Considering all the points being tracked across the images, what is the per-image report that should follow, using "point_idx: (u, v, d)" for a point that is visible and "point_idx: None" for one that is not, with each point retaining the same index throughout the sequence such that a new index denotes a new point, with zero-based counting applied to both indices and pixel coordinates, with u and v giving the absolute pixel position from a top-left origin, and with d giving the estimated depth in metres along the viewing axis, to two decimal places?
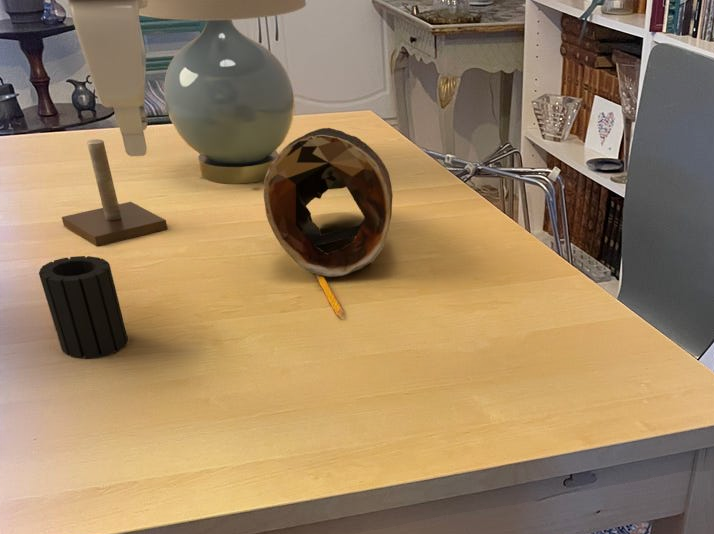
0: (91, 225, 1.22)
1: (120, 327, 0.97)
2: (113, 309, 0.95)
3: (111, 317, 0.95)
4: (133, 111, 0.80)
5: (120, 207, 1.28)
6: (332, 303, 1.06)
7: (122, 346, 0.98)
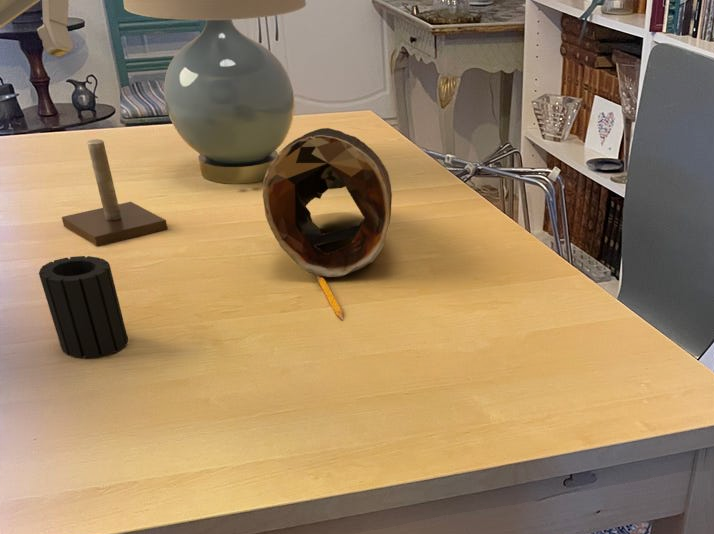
0: (91, 225, 1.22)
1: (120, 327, 0.97)
2: (113, 309, 0.95)
3: (111, 317, 0.95)
4: None
5: (120, 207, 1.28)
6: (332, 304, 1.06)
7: (122, 346, 0.98)
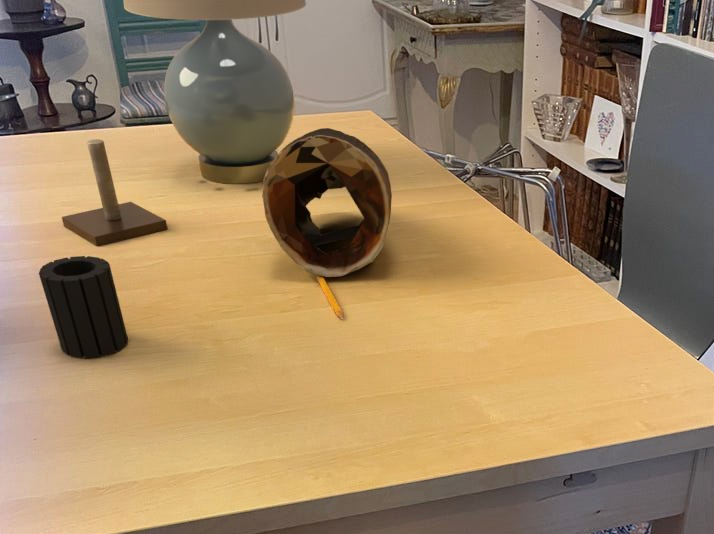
0: (91, 225, 1.22)
1: (120, 327, 0.97)
2: (113, 309, 0.95)
3: (111, 317, 0.95)
4: None
5: (120, 207, 1.28)
6: (332, 304, 1.06)
7: (122, 346, 0.98)
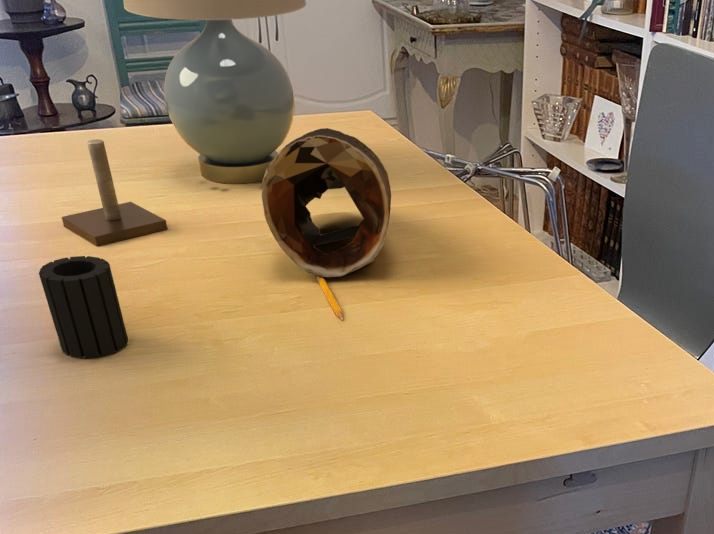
0: (91, 225, 1.22)
1: (120, 327, 0.97)
2: (113, 309, 0.95)
3: (111, 317, 0.95)
4: None
5: (120, 207, 1.28)
6: (332, 304, 1.06)
7: (122, 346, 0.98)
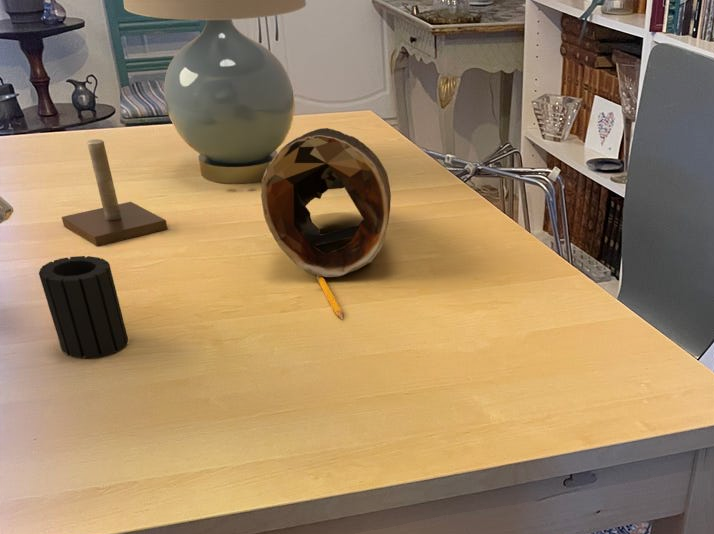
0: (91, 225, 1.22)
1: (120, 327, 0.97)
2: (113, 309, 0.95)
3: (111, 317, 0.95)
4: None
5: (120, 207, 1.28)
6: (331, 303, 1.06)
7: (122, 346, 0.98)
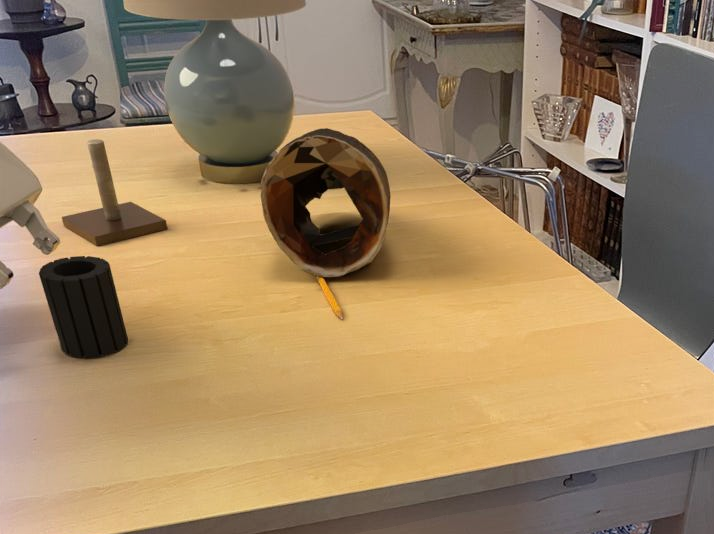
0: (91, 225, 1.22)
1: (120, 327, 0.97)
2: (113, 309, 0.95)
3: (111, 317, 0.95)
4: None
5: (120, 207, 1.28)
6: (331, 303, 1.06)
7: (122, 346, 0.98)
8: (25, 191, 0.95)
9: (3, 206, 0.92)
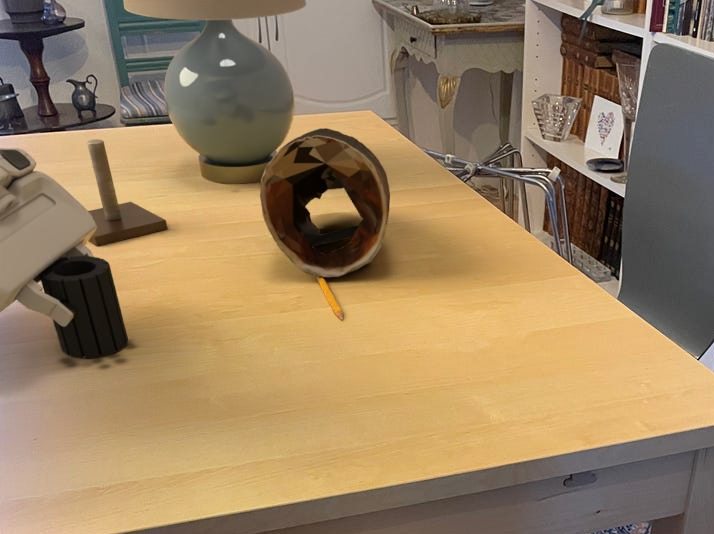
0: None
1: (120, 327, 0.97)
2: (113, 309, 0.95)
3: (111, 317, 0.95)
4: None
5: (120, 207, 1.28)
6: (331, 304, 1.06)
7: (122, 346, 0.98)
8: (82, 231, 0.97)
9: (62, 247, 0.94)
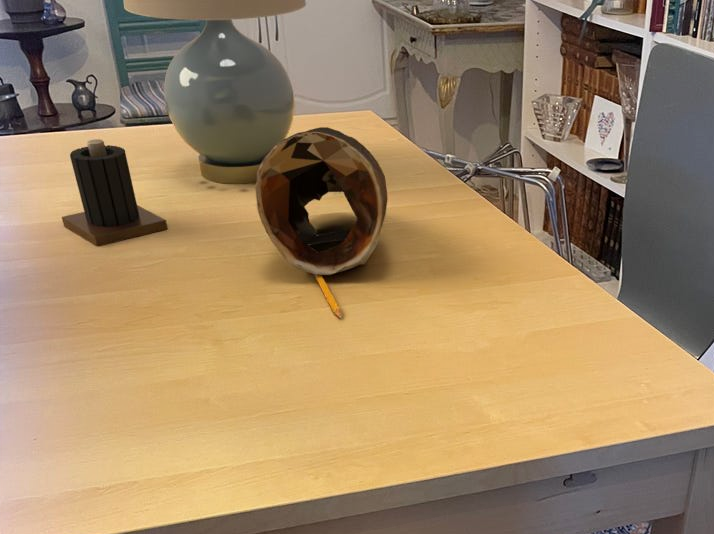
0: (91, 225, 1.22)
1: (133, 202, 1.23)
2: (127, 186, 1.21)
3: (126, 193, 1.21)
4: None
5: None
6: (330, 302, 1.06)
7: (134, 218, 1.24)
8: None
9: None
